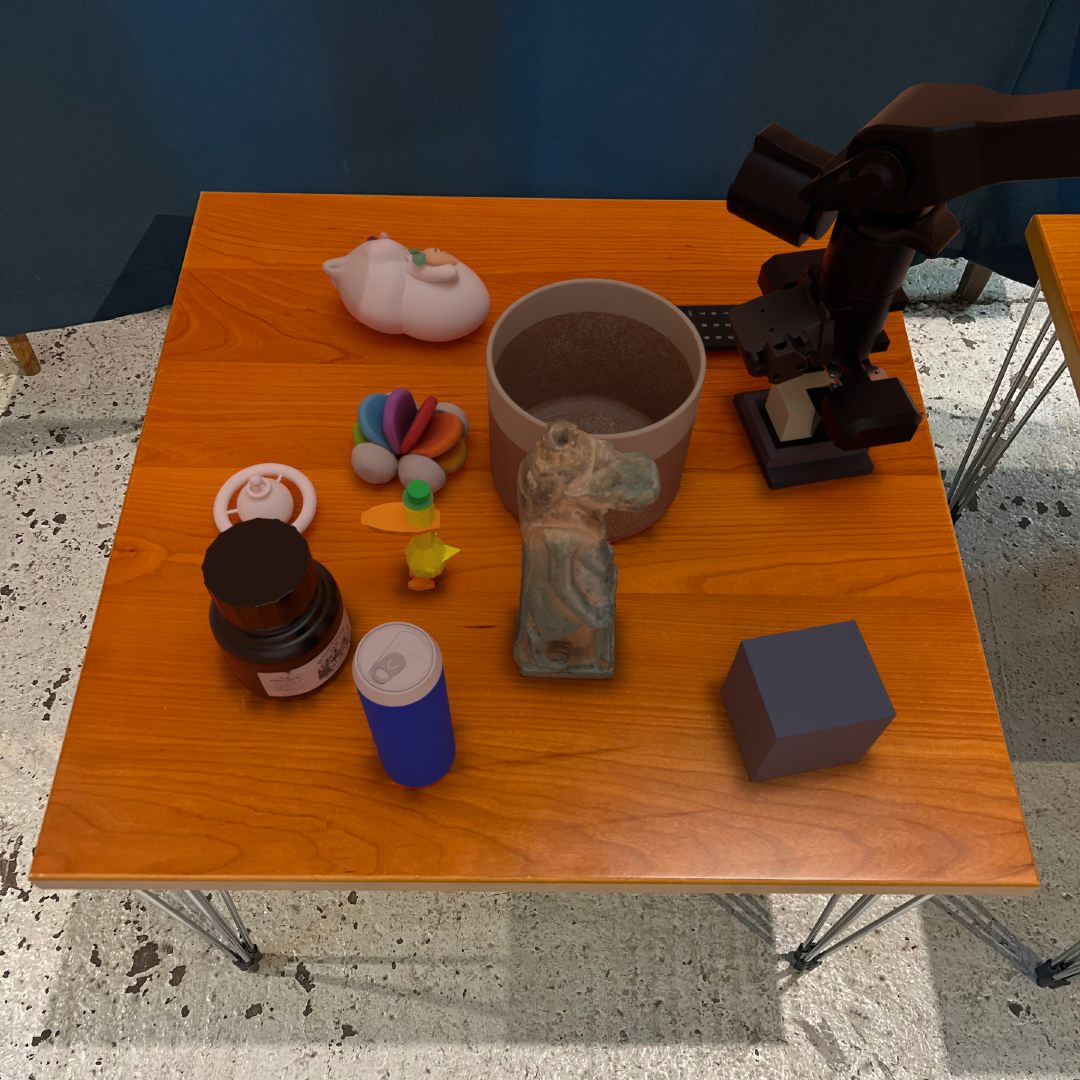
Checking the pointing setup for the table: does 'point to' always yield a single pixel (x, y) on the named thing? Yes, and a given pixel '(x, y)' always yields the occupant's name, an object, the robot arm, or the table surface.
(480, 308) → the cat figurine
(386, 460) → the rainbow stacking pebbles
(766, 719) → the dark gray cube
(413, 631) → the beverage can
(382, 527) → the toy figure
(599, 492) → the statue
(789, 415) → the beige block
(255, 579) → the ink bottle
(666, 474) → the planter
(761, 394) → the dark gray square tray
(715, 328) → the remote control
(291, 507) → the ring around a ball
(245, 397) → the table surface
